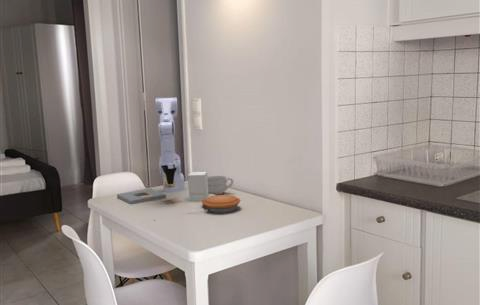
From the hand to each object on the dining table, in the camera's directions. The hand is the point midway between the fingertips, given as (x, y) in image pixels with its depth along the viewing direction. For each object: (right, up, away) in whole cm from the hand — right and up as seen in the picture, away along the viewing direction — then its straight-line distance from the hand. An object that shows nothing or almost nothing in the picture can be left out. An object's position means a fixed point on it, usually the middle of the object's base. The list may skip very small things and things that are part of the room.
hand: (169, 182), depth 203 cm
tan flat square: (+1, -9, +1) cm, 9 cm away
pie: (+22, -10, -8) cm, 26 cm away
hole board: (-14, -9, +9) cm, 19 cm away
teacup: (+20, -6, +18) cm, 27 cm away
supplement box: (+12, -9, +4) cm, 15 cm away
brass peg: (0, -2, 0) cm, 2 cm away
